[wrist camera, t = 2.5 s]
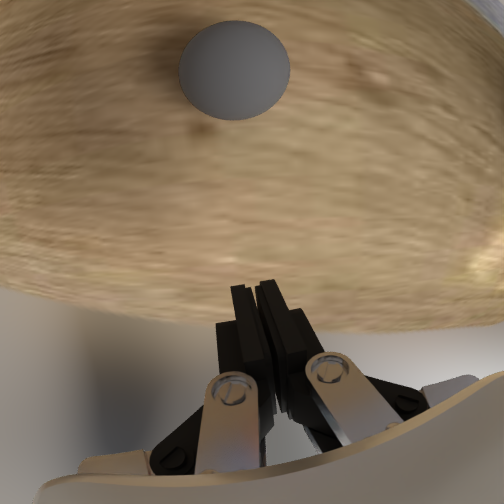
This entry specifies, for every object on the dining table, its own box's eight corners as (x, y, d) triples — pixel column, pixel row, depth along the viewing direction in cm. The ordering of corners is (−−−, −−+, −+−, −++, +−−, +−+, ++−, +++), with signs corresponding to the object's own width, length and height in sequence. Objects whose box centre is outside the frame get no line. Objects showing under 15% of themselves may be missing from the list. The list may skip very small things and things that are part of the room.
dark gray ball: (271, 39, 13) (295, 2, 8) (281, 119, 15) (311, 111, 10) (181, 47, 13) (167, 11, 8) (190, 129, 15) (177, 125, 10)
